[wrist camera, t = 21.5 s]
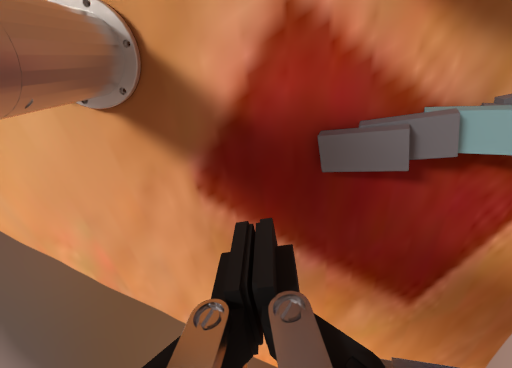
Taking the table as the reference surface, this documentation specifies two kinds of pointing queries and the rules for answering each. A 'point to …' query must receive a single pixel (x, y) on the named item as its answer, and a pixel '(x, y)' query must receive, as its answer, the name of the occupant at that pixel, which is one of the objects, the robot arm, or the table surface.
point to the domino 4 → (503, 99)
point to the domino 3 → (483, 129)
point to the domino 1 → (365, 149)
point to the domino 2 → (427, 132)
